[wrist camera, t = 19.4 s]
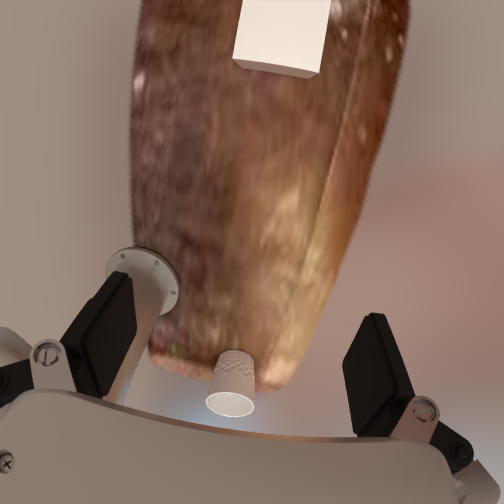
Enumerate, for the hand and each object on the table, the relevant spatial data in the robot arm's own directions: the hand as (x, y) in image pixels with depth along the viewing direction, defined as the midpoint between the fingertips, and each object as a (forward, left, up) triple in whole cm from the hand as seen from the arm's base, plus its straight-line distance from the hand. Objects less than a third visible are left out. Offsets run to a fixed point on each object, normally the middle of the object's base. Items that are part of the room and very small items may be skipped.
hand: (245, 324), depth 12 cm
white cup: (-30, -19, -28) cm, 46 cm away
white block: (+14, +9, -28) cm, 33 cm away
